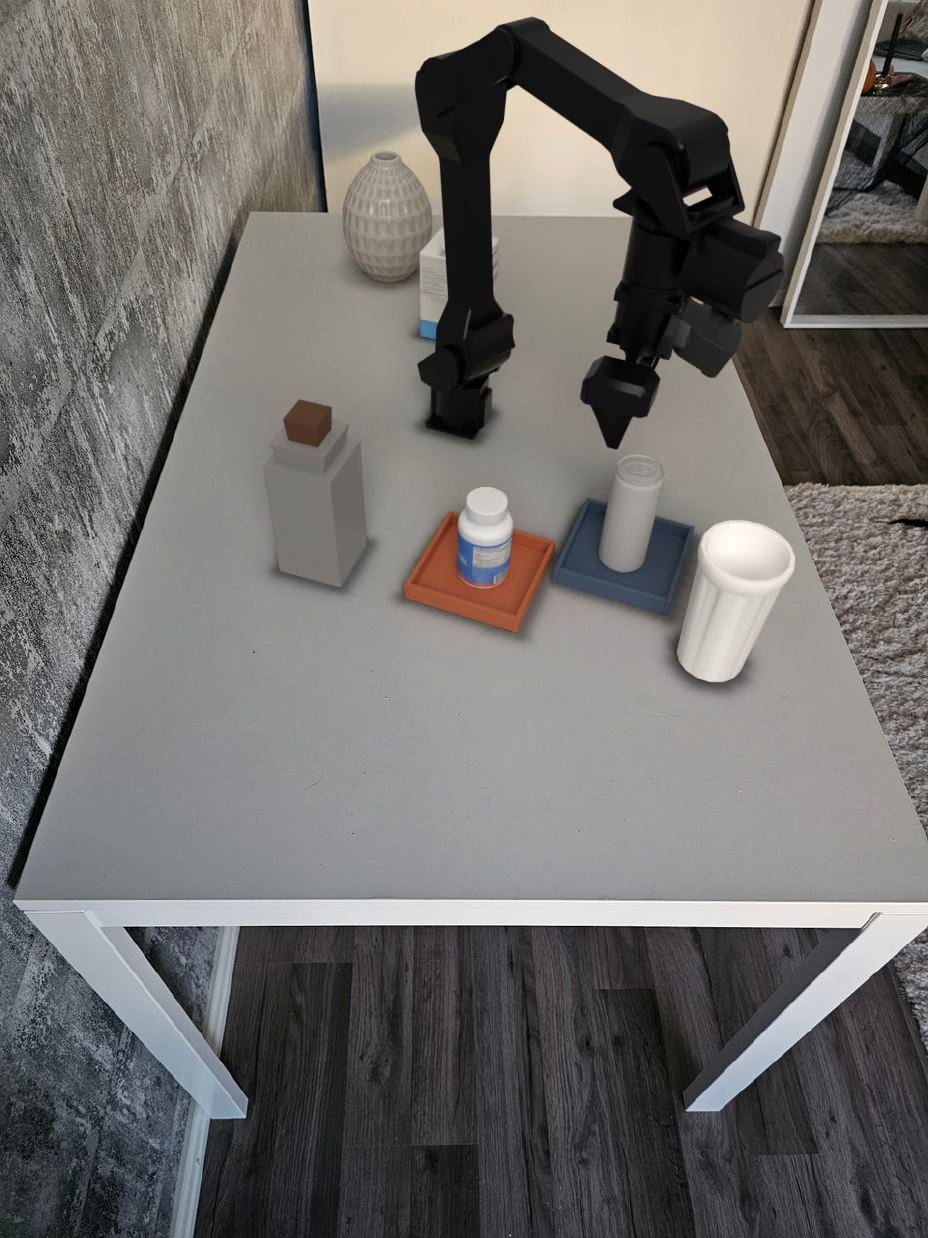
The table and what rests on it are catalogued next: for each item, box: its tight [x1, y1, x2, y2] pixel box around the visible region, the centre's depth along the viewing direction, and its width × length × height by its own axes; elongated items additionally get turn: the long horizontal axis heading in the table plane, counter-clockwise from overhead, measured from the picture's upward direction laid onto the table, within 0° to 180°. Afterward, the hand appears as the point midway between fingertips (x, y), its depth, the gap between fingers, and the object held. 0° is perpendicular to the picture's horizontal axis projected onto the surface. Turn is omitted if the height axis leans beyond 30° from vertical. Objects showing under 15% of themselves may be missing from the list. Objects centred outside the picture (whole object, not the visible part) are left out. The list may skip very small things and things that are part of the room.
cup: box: [676, 519, 797, 683], centre depth 82 cm, size 8×8×14 cm
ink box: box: [419, 227, 501, 340], centre depth 121 cm, size 9×8×13 cm
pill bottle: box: [457, 486, 514, 589], centre depth 90 cm, size 6×5×10 cm
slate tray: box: [551, 497, 696, 616], centre depth 95 cm, size 12×12×2 cm
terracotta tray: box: [403, 510, 557, 634], centre depth 93 cm, size 12×12×2 cm
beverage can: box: [599, 453, 665, 573], centre depth 91 cm, size 5×5×12 cm
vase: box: [341, 150, 433, 284], centre depth 129 cm, size 13×13×17 cm
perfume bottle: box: [262, 398, 368, 588], centre depth 88 cm, size 7×7×18 cm
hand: (624, 421), depth 91 cm, fingers open, 9 cm apart
